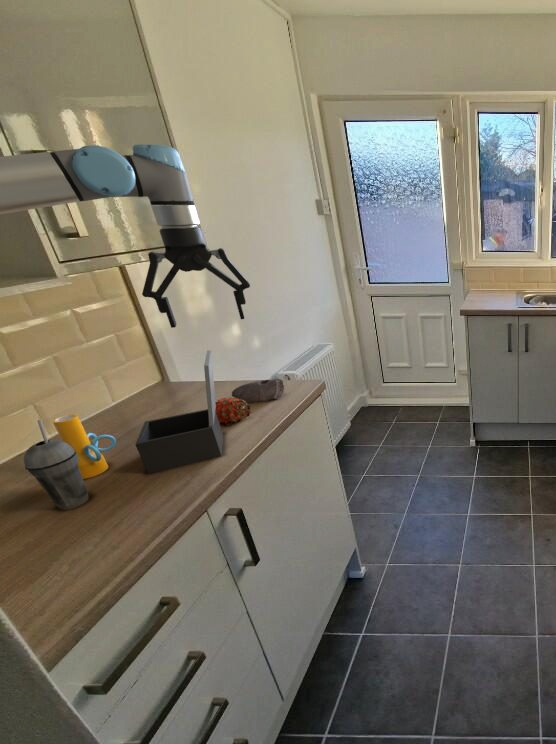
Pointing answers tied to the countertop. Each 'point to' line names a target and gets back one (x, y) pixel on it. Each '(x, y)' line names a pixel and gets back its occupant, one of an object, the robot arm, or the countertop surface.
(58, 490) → the beverage cup
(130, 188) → the robot arm
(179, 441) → the dark grey storage bin
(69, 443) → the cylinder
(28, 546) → the countertop surface
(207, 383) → the pod lid
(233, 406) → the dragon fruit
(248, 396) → the perforated stone tool
